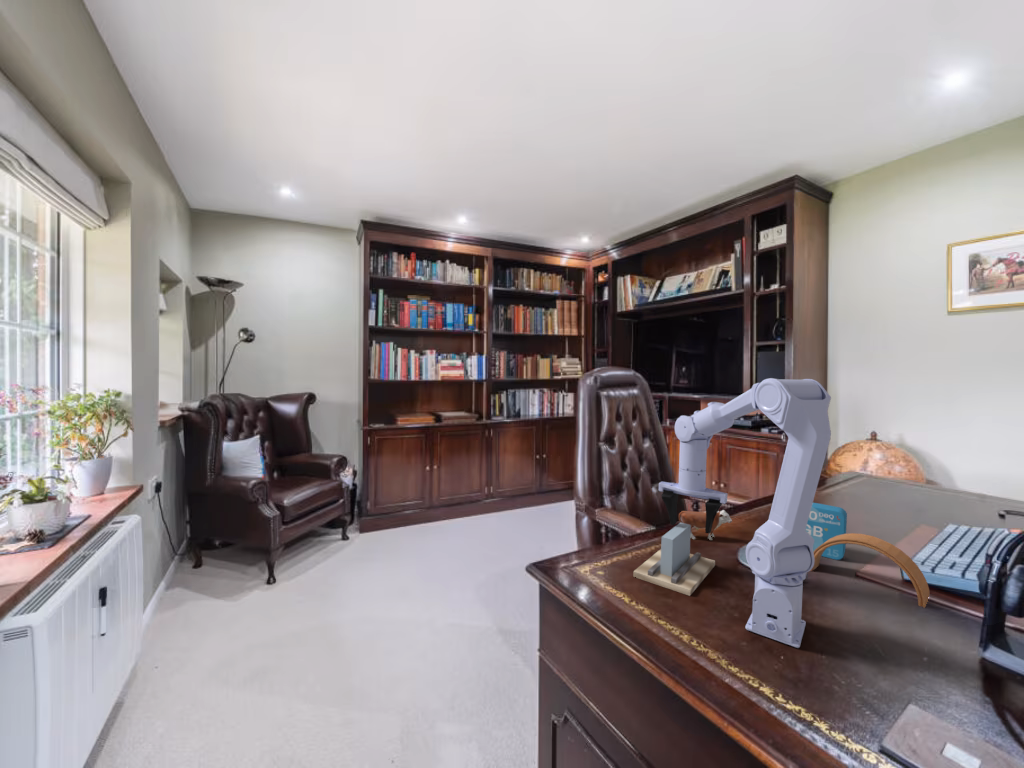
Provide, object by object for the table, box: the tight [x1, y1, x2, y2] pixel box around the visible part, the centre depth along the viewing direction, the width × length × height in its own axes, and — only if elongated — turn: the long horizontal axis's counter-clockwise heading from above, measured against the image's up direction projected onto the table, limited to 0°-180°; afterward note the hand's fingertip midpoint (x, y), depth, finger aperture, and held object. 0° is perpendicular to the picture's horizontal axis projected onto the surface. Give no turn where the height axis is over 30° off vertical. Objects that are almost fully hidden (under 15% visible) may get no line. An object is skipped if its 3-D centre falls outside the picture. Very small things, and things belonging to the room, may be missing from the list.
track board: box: [632, 548, 716, 597], centre depth 98 cm, size 18×12×2 cm, turn 140°
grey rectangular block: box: [660, 521, 692, 577], centre depth 98 cm, size 12×2×8 cm, turn 140°
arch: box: [809, 532, 930, 609], centre depth 94 cm, size 6×20×10 cm, turn 38°
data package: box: [805, 502, 848, 561], centre depth 110 cm, size 12×4×12 cm, turn 48°
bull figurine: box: [678, 509, 733, 541], centre depth 117 cm, size 4×13×8 cm, turn 78°
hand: (690, 527), depth 99 cm, fingers open, 7 cm apart
